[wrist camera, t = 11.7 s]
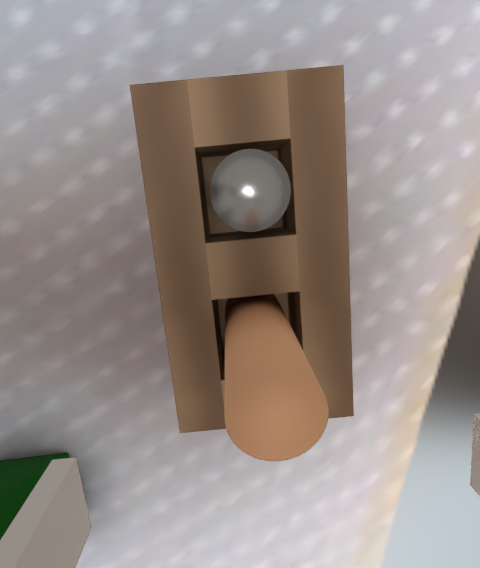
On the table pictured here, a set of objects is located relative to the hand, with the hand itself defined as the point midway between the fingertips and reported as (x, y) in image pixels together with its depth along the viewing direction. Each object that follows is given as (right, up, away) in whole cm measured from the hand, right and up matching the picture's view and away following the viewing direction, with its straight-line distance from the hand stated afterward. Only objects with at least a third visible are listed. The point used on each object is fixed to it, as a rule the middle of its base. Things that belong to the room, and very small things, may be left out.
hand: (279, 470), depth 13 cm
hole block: (-1, +9, +18) cm, 20 cm away
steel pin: (-1, +13, +16) cm, 21 cm away
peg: (0, +4, +18) cm, 19 cm away
